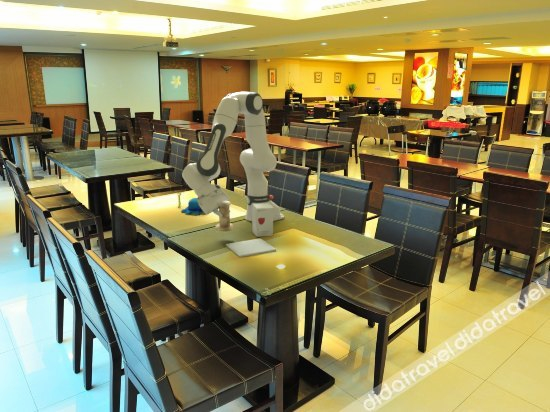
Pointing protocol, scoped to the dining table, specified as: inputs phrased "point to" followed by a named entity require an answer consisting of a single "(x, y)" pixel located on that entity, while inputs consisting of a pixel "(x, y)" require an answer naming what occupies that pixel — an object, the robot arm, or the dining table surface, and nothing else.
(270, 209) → the supplement box
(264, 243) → the grey rubber mat
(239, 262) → the dining table surface
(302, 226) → the dining table surface
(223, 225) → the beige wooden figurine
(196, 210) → the plush toy
